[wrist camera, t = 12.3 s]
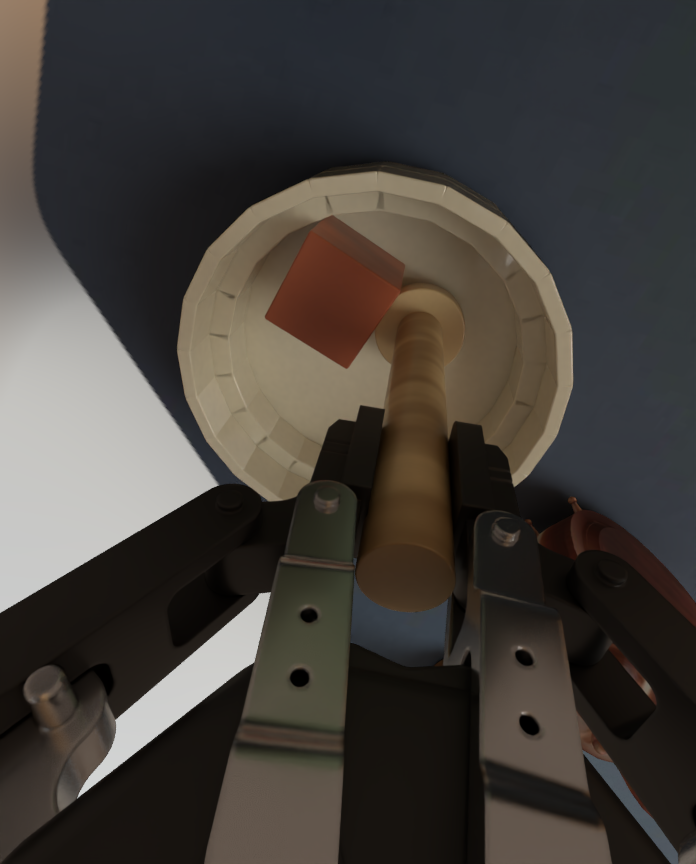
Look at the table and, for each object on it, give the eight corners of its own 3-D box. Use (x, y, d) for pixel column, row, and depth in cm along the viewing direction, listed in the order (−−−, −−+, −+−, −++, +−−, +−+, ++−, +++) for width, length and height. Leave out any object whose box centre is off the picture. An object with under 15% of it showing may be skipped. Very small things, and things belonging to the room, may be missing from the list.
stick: (359, 318, 22) (266, 556, 10) (430, 263, 21) (428, 465, 8) (410, 381, 24) (387, 662, 11) (481, 334, 22) (550, 604, 9)
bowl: (158, 313, 25) (103, 351, 21) (418, 59, 18) (414, 41, 14) (351, 512, 31) (338, 574, 27) (609, 380, 23) (647, 436, 19)
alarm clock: (489, 511, 29) (532, 807, 17) (552, 462, 26) (657, 767, 14) (617, 595, 31) (739, 912, 19) (685, 557, 29) (879, 894, 16)
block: (287, 289, 23) (263, 318, 19) (329, 212, 21) (309, 229, 17) (359, 335, 23) (347, 370, 20) (406, 264, 21) (401, 291, 18)
